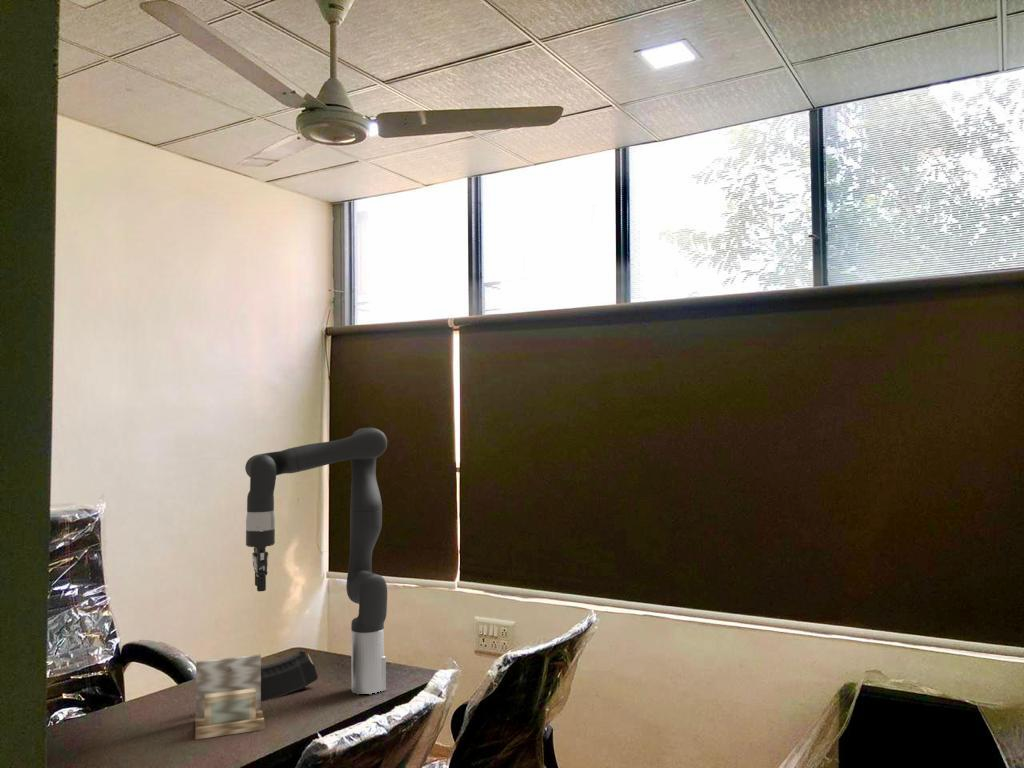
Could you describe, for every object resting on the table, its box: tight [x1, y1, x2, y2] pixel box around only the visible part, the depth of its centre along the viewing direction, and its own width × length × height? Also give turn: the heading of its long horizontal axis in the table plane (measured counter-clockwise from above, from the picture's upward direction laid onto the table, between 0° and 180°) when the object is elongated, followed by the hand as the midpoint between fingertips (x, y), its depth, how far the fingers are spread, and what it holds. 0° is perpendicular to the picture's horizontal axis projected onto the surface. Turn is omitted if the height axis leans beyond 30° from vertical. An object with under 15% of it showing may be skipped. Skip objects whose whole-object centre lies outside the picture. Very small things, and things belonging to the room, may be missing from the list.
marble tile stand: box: [194, 654, 265, 740], centre depth 202 cm, size 16×14×15 cm
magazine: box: [261, 649, 319, 702], centre depth 221 cm, size 17×3×30 cm
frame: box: [204, 688, 256, 726], centre depth 198 cm, size 12×3×8 cm, turn 112°
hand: (260, 588), depth 215 cm, fingers open, 8 cm apart
